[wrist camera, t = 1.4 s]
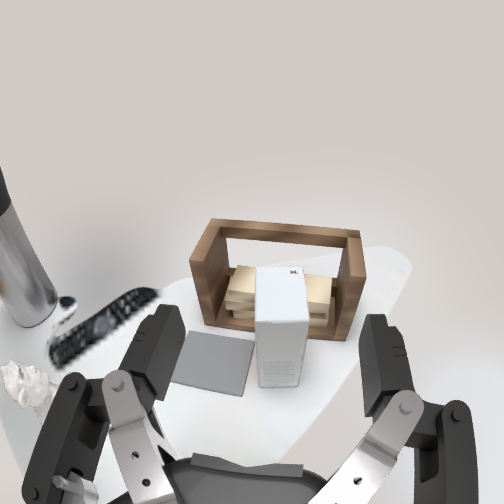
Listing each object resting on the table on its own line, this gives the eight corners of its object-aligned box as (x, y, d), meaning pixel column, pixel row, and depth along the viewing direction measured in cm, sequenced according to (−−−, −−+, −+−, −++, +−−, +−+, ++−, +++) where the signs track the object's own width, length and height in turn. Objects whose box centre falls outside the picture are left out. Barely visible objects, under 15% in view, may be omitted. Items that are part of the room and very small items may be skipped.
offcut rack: (205, 324, 35) (188, 259, 28) (221, 282, 41) (211, 218, 34) (345, 341, 32) (366, 277, 25) (344, 295, 38) (359, 230, 31)
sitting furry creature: (131, 415, 25) (74, 358, 18) (90, 472, 19) (14, 435, 12) (77, 375, 29) (23, 311, 21) (40, 422, 23) (-26, 369, 15)
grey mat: (170, 381, 29) (169, 379, 29) (189, 332, 34) (189, 330, 34) (242, 396, 27) (241, 395, 27) (254, 342, 33) (254, 340, 32)
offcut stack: (224, 319, 34) (219, 292, 31) (234, 289, 38) (231, 261, 35) (326, 331, 32) (332, 304, 29) (327, 299, 36) (332, 271, 33)
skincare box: (258, 342, 33) (254, 265, 25) (295, 341, 33) (304, 264, 25) (257, 389, 28) (253, 321, 21) (298, 388, 28) (312, 320, 20)
